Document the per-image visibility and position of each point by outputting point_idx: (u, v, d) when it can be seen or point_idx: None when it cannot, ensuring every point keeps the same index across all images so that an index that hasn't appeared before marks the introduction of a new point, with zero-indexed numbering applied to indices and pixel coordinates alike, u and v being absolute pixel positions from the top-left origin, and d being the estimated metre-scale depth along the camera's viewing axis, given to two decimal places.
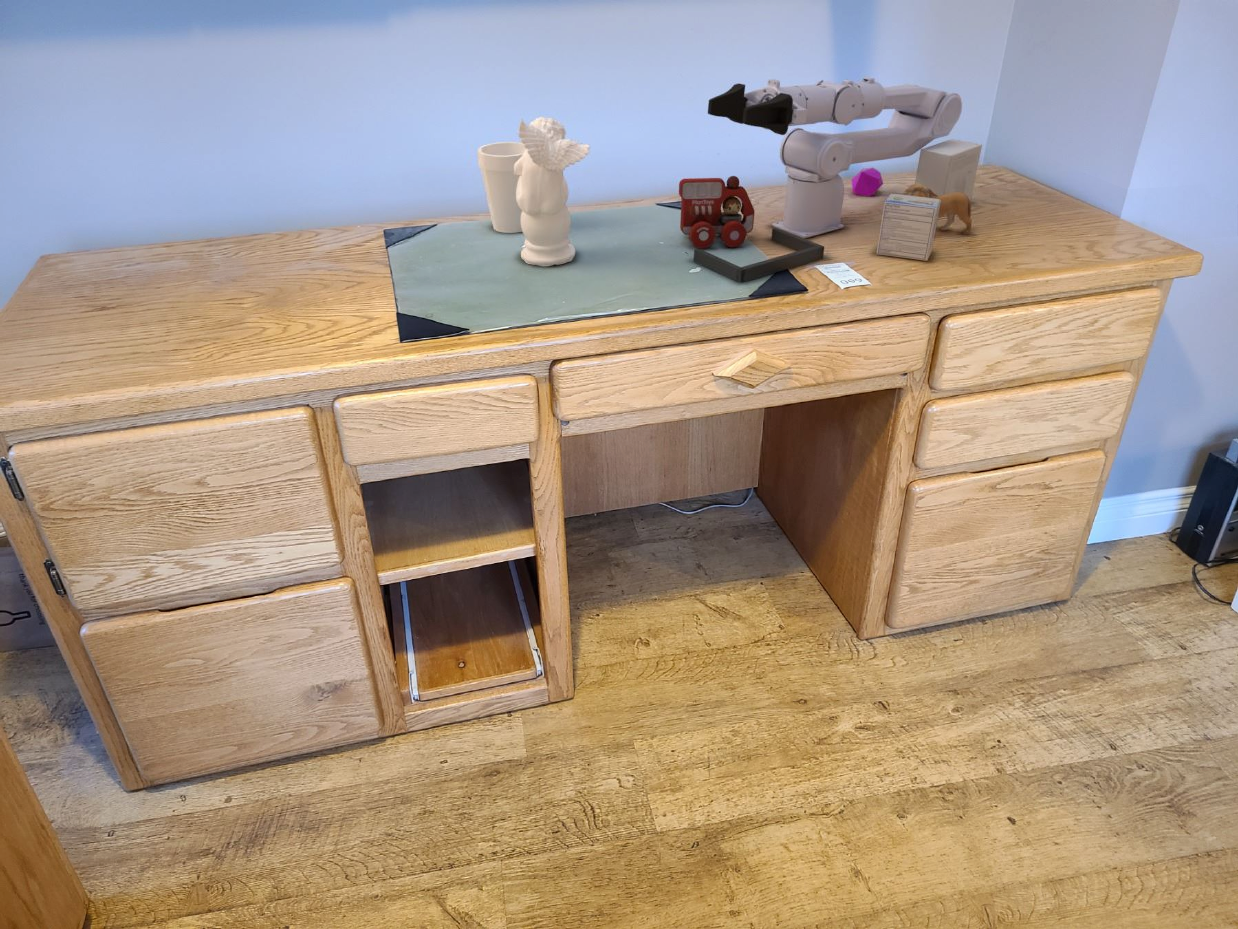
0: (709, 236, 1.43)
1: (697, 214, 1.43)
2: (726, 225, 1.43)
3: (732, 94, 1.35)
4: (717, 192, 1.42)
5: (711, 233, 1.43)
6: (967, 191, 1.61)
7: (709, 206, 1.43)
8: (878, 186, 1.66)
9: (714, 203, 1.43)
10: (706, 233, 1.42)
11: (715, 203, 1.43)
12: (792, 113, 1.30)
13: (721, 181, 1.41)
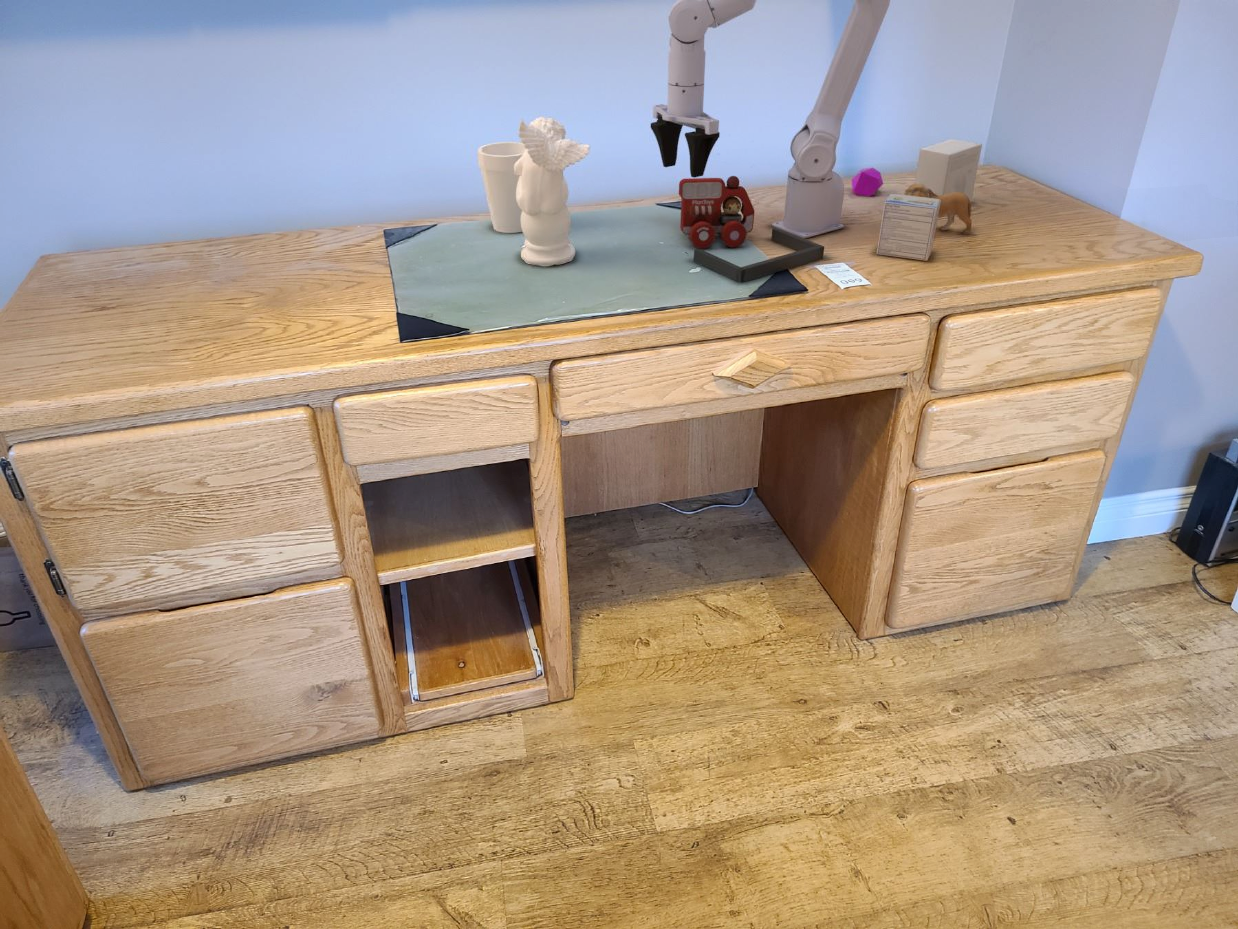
0: (709, 236, 1.43)
1: (697, 214, 1.43)
2: (726, 225, 1.43)
3: (662, 141, 1.47)
4: (717, 192, 1.42)
5: (711, 233, 1.43)
6: (967, 191, 1.60)
7: (709, 206, 1.43)
8: (878, 186, 1.66)
9: (714, 203, 1.43)
10: (706, 233, 1.42)
11: (715, 203, 1.43)
12: None
13: (721, 181, 1.41)
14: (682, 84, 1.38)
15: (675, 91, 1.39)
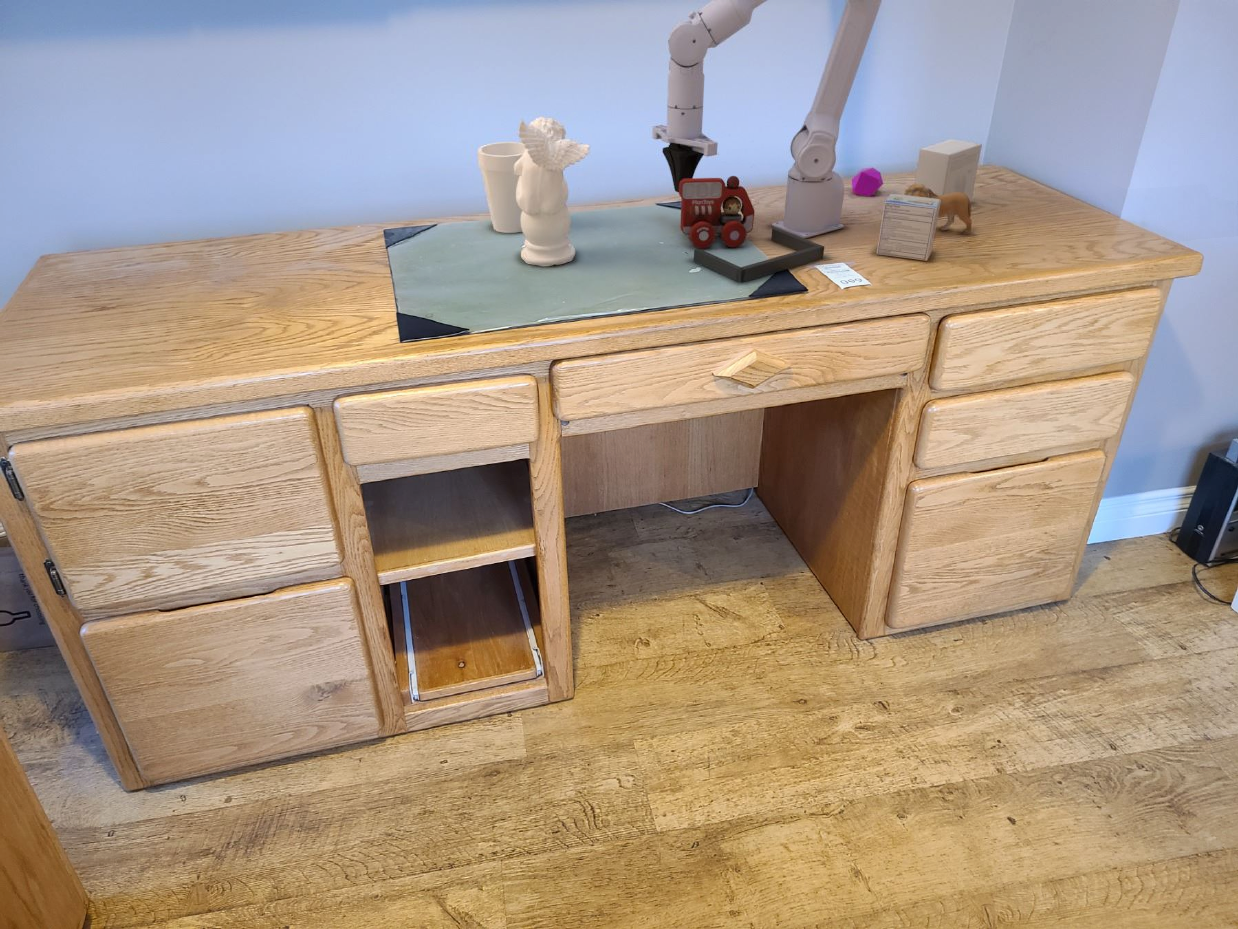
0: (709, 236, 1.43)
1: (697, 214, 1.43)
2: (726, 225, 1.43)
3: (674, 166, 1.47)
4: (717, 192, 1.42)
5: (711, 233, 1.43)
6: (967, 191, 1.60)
7: (709, 206, 1.43)
8: (878, 186, 1.66)
9: (714, 203, 1.43)
10: (706, 233, 1.42)
11: (715, 203, 1.43)
12: None
13: (721, 181, 1.41)
14: (681, 107, 1.40)
15: (674, 113, 1.41)
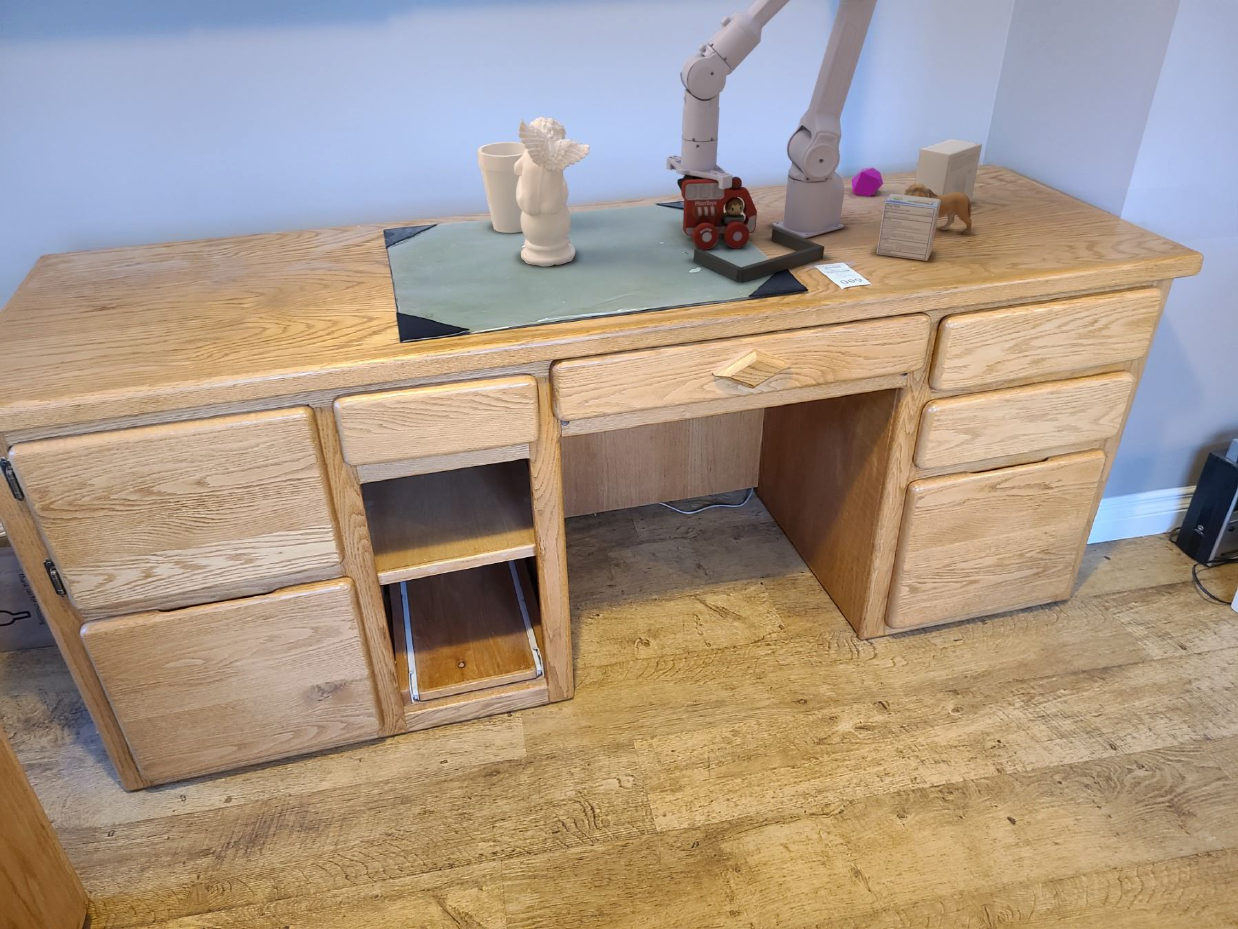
0: (712, 237, 1.42)
1: (700, 215, 1.43)
2: (729, 226, 1.42)
3: None
4: (720, 193, 1.42)
5: (714, 234, 1.42)
6: (967, 191, 1.60)
7: (712, 207, 1.42)
8: (878, 186, 1.66)
9: (716, 204, 1.42)
10: (709, 234, 1.42)
11: (718, 204, 1.42)
12: None
13: None
14: (699, 139, 1.39)
15: (689, 146, 1.40)
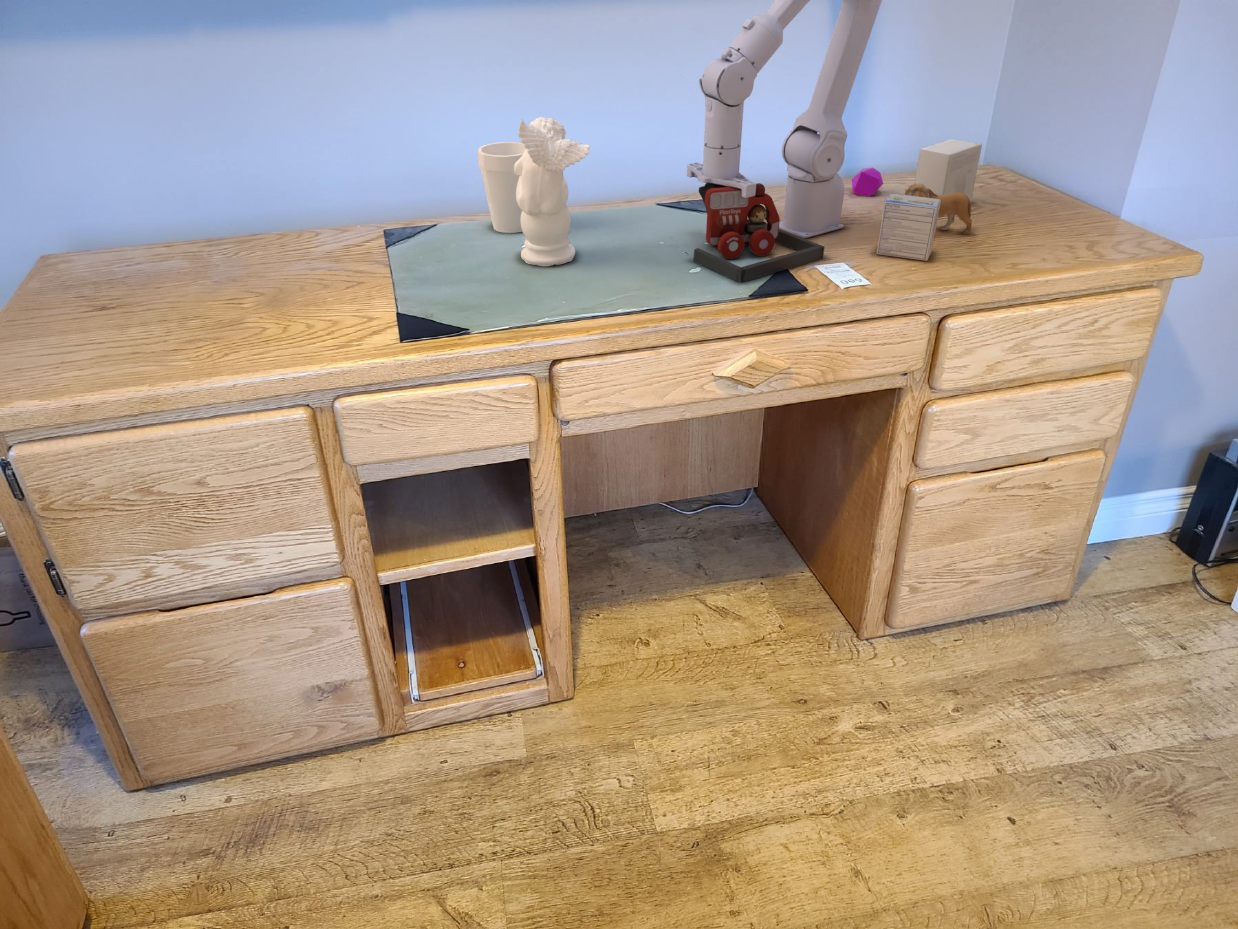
0: (739, 246, 1.39)
1: (725, 224, 1.39)
2: (755, 234, 1.39)
3: None
4: (744, 201, 1.38)
5: (741, 243, 1.39)
6: (967, 191, 1.60)
7: (736, 215, 1.39)
8: (878, 186, 1.66)
9: (740, 212, 1.39)
10: (736, 243, 1.38)
11: (742, 212, 1.39)
12: None
13: None
14: (728, 147, 1.35)
15: (711, 153, 1.37)
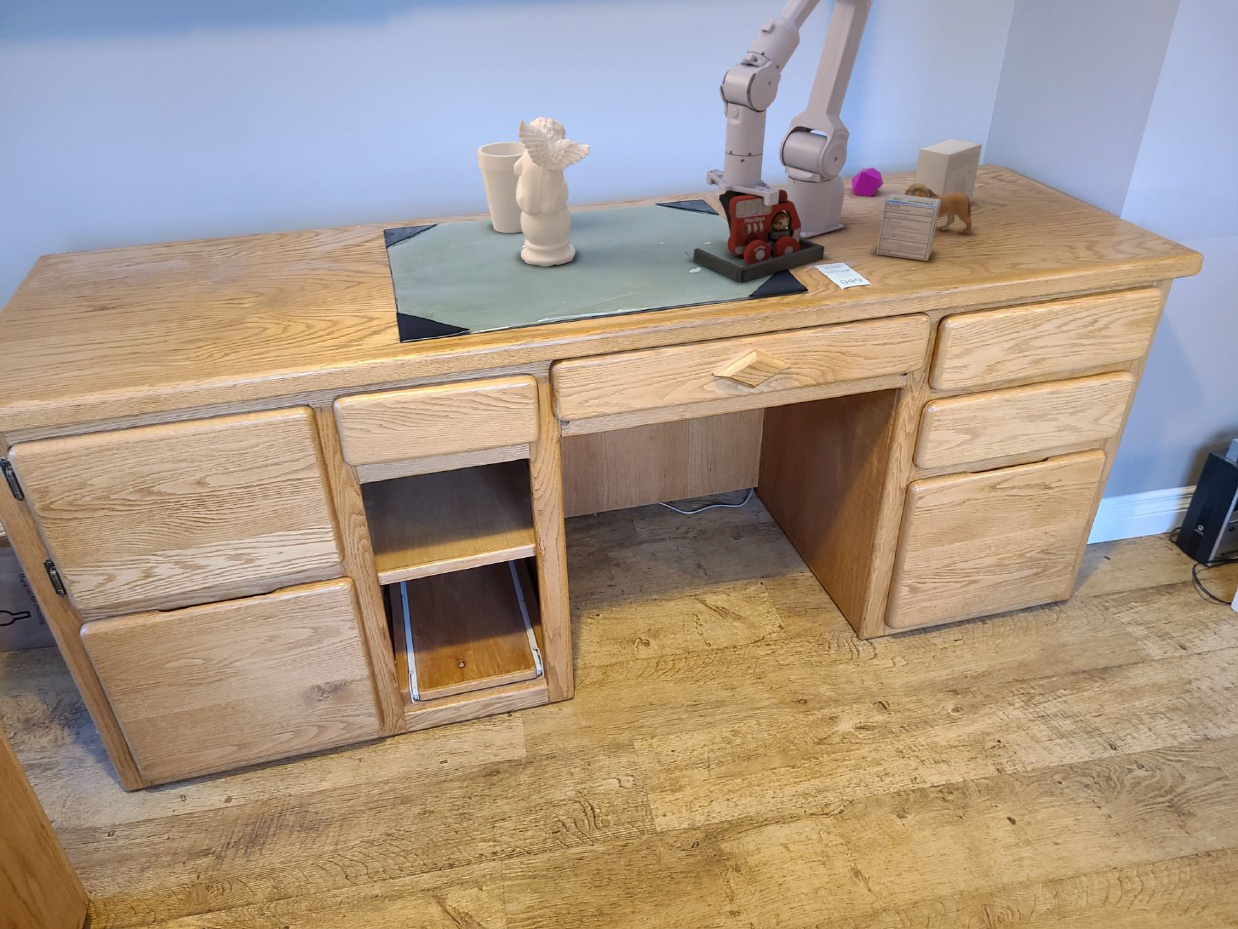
0: (765, 254, 1.36)
1: (749, 232, 1.36)
2: (780, 241, 1.36)
3: None
4: (767, 208, 1.35)
5: (767, 251, 1.36)
6: (967, 191, 1.60)
7: (760, 223, 1.36)
8: (878, 186, 1.66)
9: (764, 220, 1.36)
10: (762, 252, 1.35)
11: (766, 219, 1.36)
12: None
13: None
14: (755, 153, 1.32)
15: (733, 160, 1.33)
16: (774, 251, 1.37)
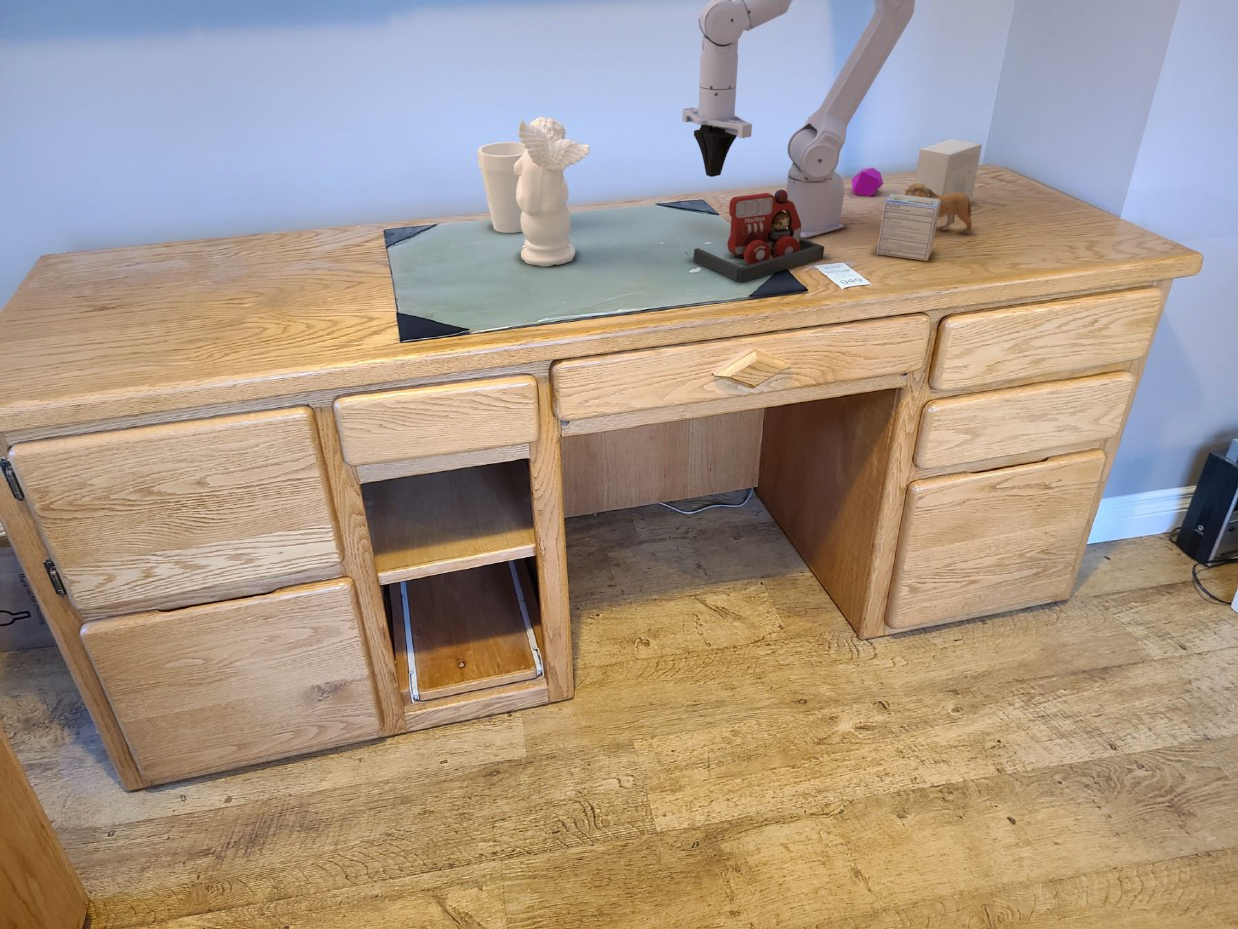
0: (765, 254, 1.36)
1: (749, 232, 1.36)
2: (780, 241, 1.36)
3: (706, 149, 1.43)
4: (768, 208, 1.35)
5: (767, 251, 1.36)
6: (967, 191, 1.60)
7: (761, 223, 1.36)
8: (878, 186, 1.66)
9: (765, 220, 1.36)
10: (763, 252, 1.35)
11: (766, 219, 1.36)
12: None
13: (772, 196, 1.34)
14: (717, 87, 1.36)
15: (707, 94, 1.37)
16: (774, 251, 1.37)
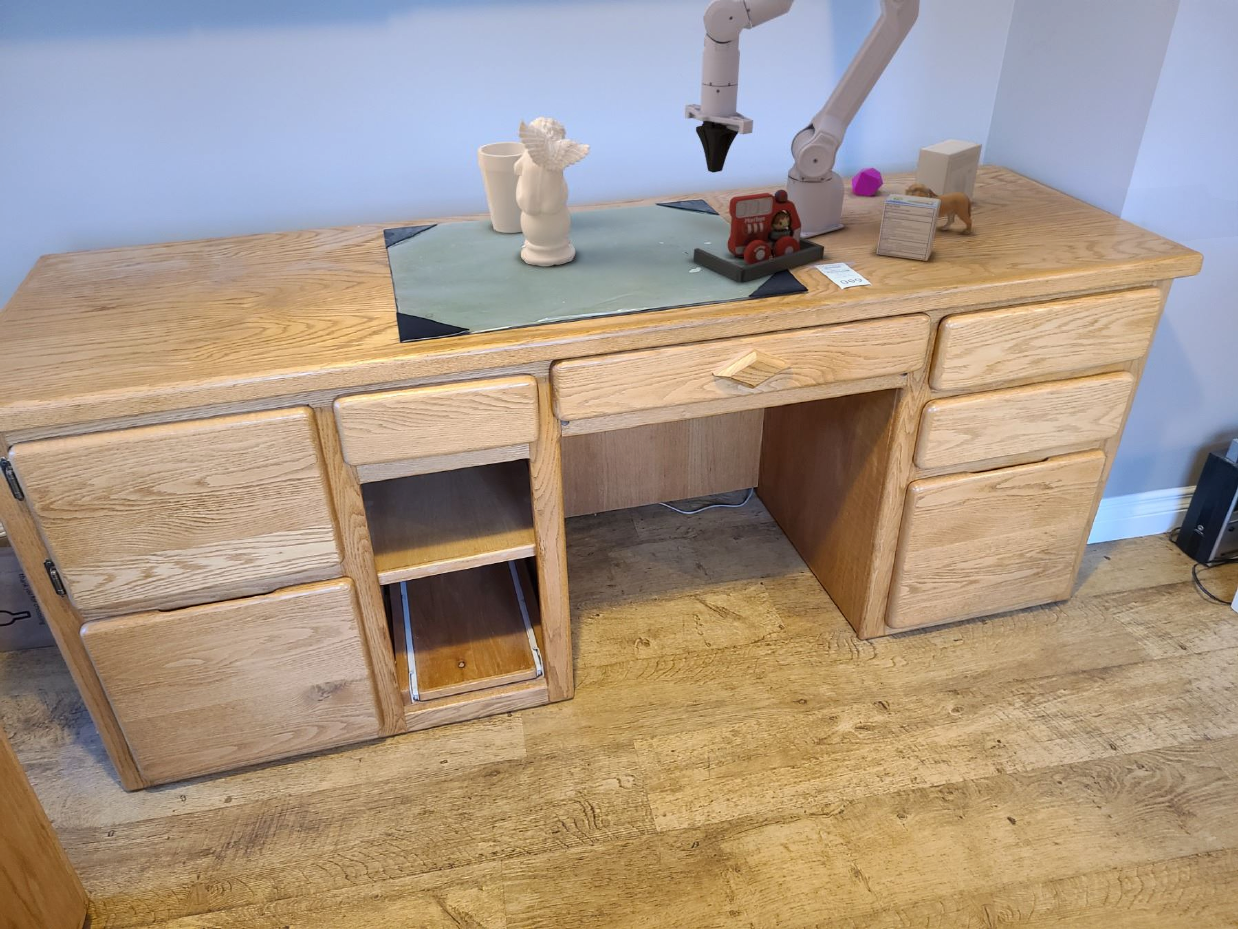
0: (765, 254, 1.36)
1: (749, 232, 1.36)
2: (780, 241, 1.36)
3: (708, 145, 1.45)
4: (768, 208, 1.35)
5: (767, 251, 1.36)
6: (967, 191, 1.60)
7: (761, 223, 1.36)
8: (878, 186, 1.66)
9: (765, 220, 1.36)
10: (763, 252, 1.35)
11: (766, 219, 1.36)
12: None
13: (772, 196, 1.34)
14: (716, 84, 1.38)
15: (709, 91, 1.39)
16: (774, 251, 1.37)
